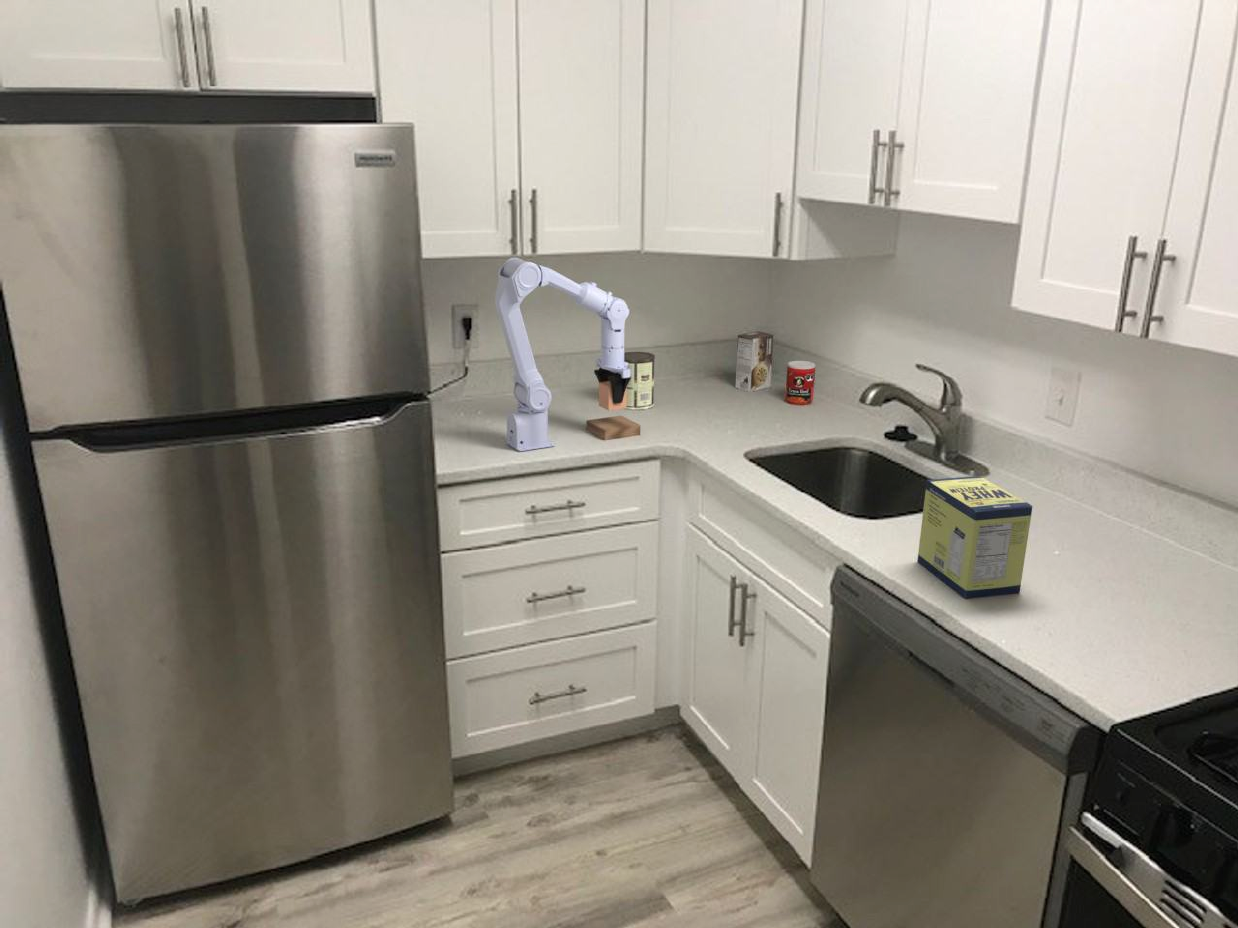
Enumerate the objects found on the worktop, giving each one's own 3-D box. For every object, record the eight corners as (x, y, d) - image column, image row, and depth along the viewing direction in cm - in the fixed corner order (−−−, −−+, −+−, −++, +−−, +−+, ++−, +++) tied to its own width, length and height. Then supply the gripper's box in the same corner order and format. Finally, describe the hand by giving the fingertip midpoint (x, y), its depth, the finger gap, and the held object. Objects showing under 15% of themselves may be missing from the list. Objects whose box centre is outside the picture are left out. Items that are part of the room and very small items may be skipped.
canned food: (783, 404, 271) (785, 365, 268) (787, 397, 278) (789, 359, 275) (811, 406, 269) (813, 367, 265) (814, 399, 276) (817, 361, 273)
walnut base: (605, 442, 238) (605, 430, 237) (586, 431, 246) (586, 420, 245) (640, 436, 242) (640, 425, 241) (620, 426, 250) (620, 415, 249)
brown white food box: (755, 383, 294) (758, 330, 288) (771, 387, 289) (774, 334, 284) (734, 388, 288) (736, 334, 283) (750, 392, 283) (753, 337, 278)
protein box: (967, 555, 174) (978, 474, 169) (1021, 593, 160) (1035, 505, 155) (915, 561, 172) (924, 478, 166) (965, 600, 157) (977, 511, 152)
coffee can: (629, 398, 275) (630, 349, 271) (660, 404, 270) (662, 354, 266) (609, 406, 267) (609, 356, 263) (641, 412, 262) (642, 361, 257)
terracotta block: (608, 410, 237) (608, 386, 235) (598, 405, 241) (598, 382, 239) (626, 408, 240) (626, 384, 238) (616, 403, 244) (616, 380, 242)
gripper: (641, 350, 231) (641, 405, 236) (612, 339, 243) (612, 391, 248) (615, 353, 228) (615, 408, 233) (587, 342, 240) (588, 395, 245)
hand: (612, 400), depth 240 cm, fingers closed on terracotta block, 5 cm apart
